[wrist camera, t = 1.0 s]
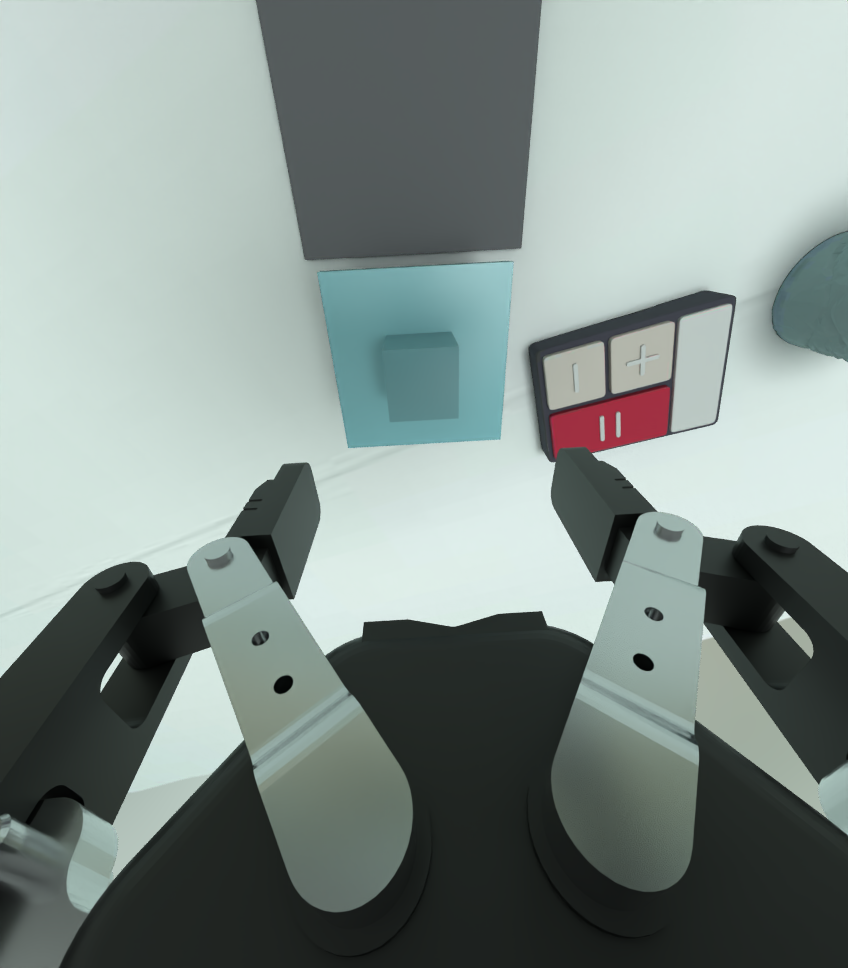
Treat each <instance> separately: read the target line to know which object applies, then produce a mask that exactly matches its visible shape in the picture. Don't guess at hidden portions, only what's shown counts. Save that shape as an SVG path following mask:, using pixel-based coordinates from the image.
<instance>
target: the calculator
mask: <svg viewBox="0 0 848 968" xmlns="http://www.w3.org/2000/svg"><path fill="white" fill-rule="evenodd" d="M735 305H736V297H735V296H733V295H728V294H723V293H717V292H712V291H701V292H698V293H695V294H691V295H688V296H685V297H682V298H678V299H675V300H672V301H669V302H665V303H662V304H659V305H656V306H654V307H652V308H649V309H646V310H642V311H639V312H635V313H632V314H629V315H625V316H622V317H618V318H615V319H611V320H608V321H605V322H601V323H598V324H594V325H591V326H588V327H584V328H581V329H578V330H574V331H571V332H568V333H565V334H561V335H558V336H555V337H552V338H548V339H545V340H542V341H539V342H535V343H533V344H531V345H530V347H529V356H530V363H531V371H532V378H533V385H534V393H535V400H536V408H537V415H538V422H539V430H540V437H541V445H542V449H543V451H544V453H545V455H546V456H547V458H548V460H549V461H550V462H556V458H557V453H558V451H559V449H560V448H571V447H586V448H587V449H588V450H589V451H590V452H591V453H595V452H599V451H604V450H608V449H612V448H616V447H621V446H625V445H629V444H634V443H638V442H642V441H646V440H651V439H655V438H659V437H663V436H668V435H672V434H676V433H680V432H685V431H689V430H693V429H697V428H702V427H706V426H710V425H713V424H715V423H716V422H717V420H718V416H719V409H720V403H721V396H722V390H723V383H724V377H725V370H726V364H727V357H728V351H729V344H730V338H731V331H732V325H733V318H734V312H735Z"/></svg>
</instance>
